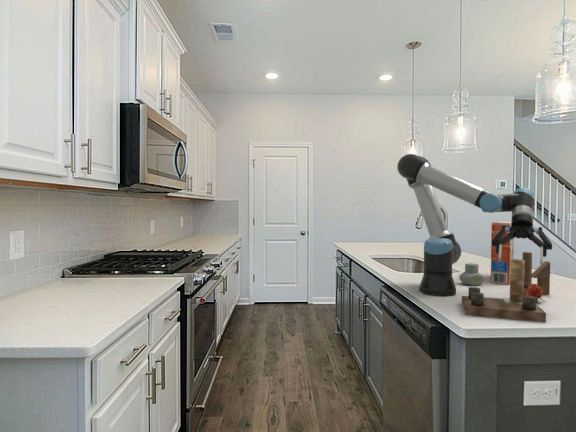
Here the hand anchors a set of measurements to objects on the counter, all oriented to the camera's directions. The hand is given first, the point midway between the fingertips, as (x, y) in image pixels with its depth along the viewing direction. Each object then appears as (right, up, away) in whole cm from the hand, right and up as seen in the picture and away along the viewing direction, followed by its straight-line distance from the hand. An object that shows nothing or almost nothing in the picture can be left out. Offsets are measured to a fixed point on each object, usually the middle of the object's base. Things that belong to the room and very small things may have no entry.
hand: (520, 261), depth 150 cm
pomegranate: (+11, -17, +10) cm, 23 cm away
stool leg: (-4, -14, -4) cm, 15 cm away
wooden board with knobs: (-11, -17, -7) cm, 22 cm away
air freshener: (+2, -17, +44) cm, 48 cm away
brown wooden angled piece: (+20, -17, +24) cm, 36 cm away
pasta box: (+23, -16, +55) cm, 62 cm away
